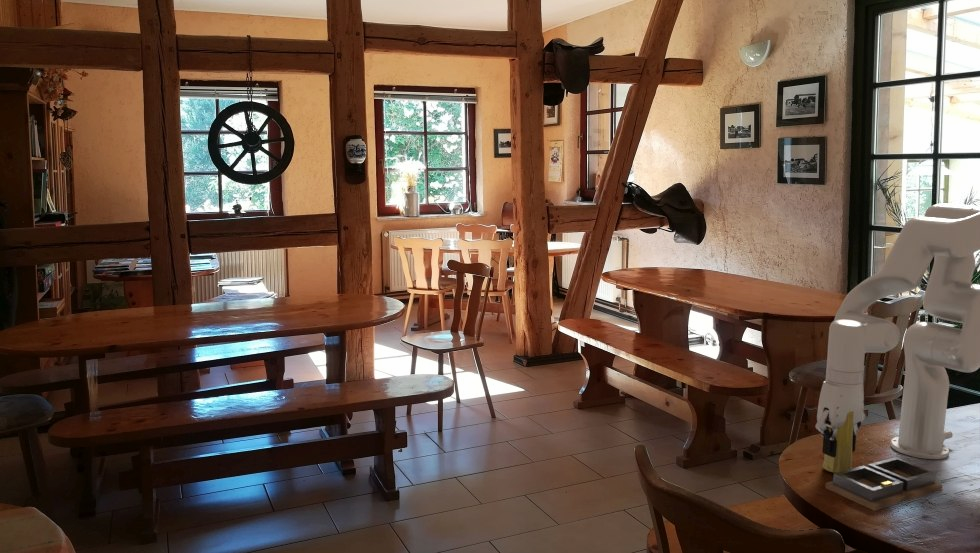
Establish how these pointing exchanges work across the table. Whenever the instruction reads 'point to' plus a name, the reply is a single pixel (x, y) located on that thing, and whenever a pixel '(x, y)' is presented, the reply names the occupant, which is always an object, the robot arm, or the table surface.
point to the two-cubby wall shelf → (884, 479)
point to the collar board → (887, 501)
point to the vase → (841, 448)
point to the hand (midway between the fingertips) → (838, 451)
